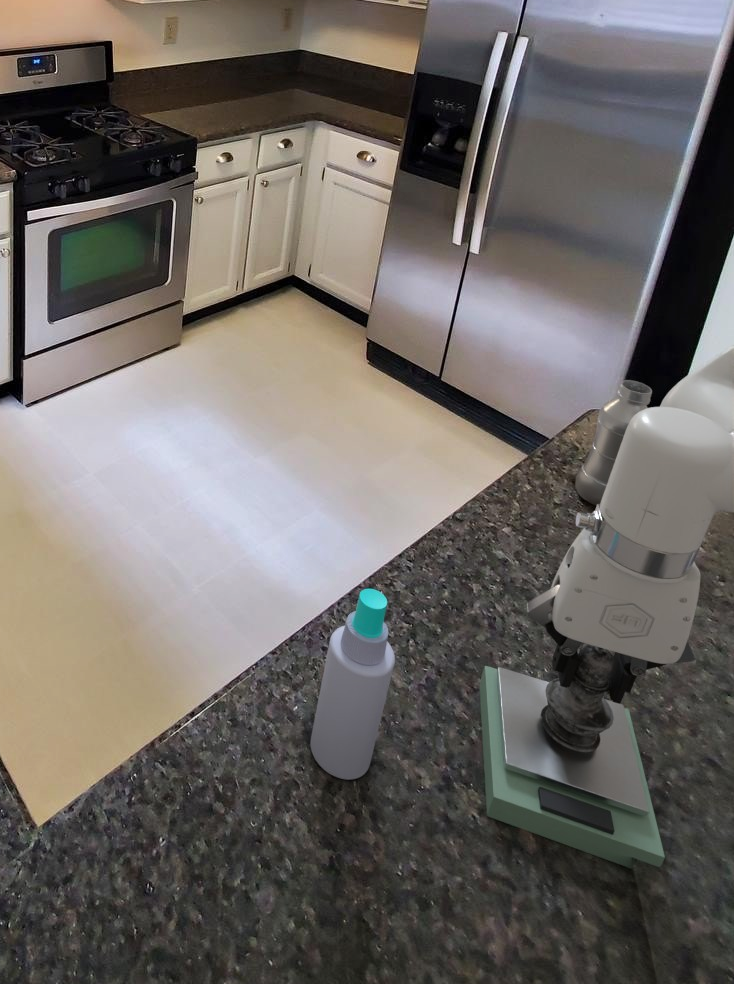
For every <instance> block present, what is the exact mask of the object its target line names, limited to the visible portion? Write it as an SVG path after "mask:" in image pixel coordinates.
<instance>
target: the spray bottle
mask: <svg viewBox="0 0 734 984" xmlns="http://www.w3.org/2000/svg"><path fill="white" fill-rule="evenodd" d="M387 607H388V599H387V597H386V596H385V595H384V594H383V593H382V592H381V591H379V590H377V589H374V588H364V589H362V590H361V591H360V592H359V596H358V599H357V604H356V608H355V611H352V612H350V613H349V614H348V616H347V618H346V621H345V623H344V625H341V626H339V627H338V628H336V629H335V630H334V631H333V632H332V634H331V636H330V638H329V642H328V648H327V653H326V658H325V664H324V669H323V674H322V678H321V679H322V680H321V685H320V688H319V695H318V700H317V705H316V710H315V714H314V715H315V716H314V720H313V726H312V731H311V735H310V750H311V751H310V752H311V753H312V756H313V758H314V760H315V761H316V763H317V765H318V766H319V767H321V768H322V769H323V770H324V771H325V772H326V773H327V774H329V775H331V776H333V777H335V778H337V779H342V780H346V781H347V780H356V779H359V778H361V777H363V776H364V775H365V774H366V773H367V772H368V770H369V768H370V765H371V761H372V758H373V754H374V749H375V745H376V741H377V738H378V733H379V730H380V725H381V722H382V717H383V713H384V708H385V704H386V700H387V697H388V692H389V688H390V684H391V680H392V676H393V672H394V668H395V664H396V656H395V651H394V648H393V647H392V646H391V644H390V643H389V641H388V638H389V627H388V625H387V624H386V622H385V617H386V612H387Z"/></svg>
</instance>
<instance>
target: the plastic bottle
mask: <svg viewBox="0 0 734 984" xmlns="http://www.w3.org/2000/svg"><path fill="white" fill-rule="evenodd" d="M652 394H653V390H652V388H651V387H650V386H648V385H646V384H645V383H643V382H639V381H636V380H632V379H625V380H622V381H621V382H620V385H619V388H618V389H617V392H616V395H617V396H616V397H614V398H612V399H610V400H609V401H607V402H605V403H604V404H603V405H602V406H601V408H600V409H599V411H598V416H597V423H596V428H595V429H596V430H595V434H594V438H593V442H592V445H591V449H590V451H589V453H588V455H587V456H586V459H585V460H584V463H583V464H582V466H581V467H580V468H579V470H578V472H577V473H576V475H575V485H574V487H575V489H576V492H577V494H578V495H579V496H580V497H581V498H582V499H583V500H585V502H587V503H590V504H592V505H594V506H597V504H600V503H601V500H602V497H603V494H604V491H605V489H606V486H607V483H608V480H609V477H610V474H611V472H612V469H613V466H614V463H615V460H616V457H617V454H618V452H619V449H620V446H621V443H622V440H623V437H624V434H625V431H626V429H627V426H628V424H629V422H630V420H631V419H632V418H633V416H634V415H635V414H637V413H638V412H640V411H642V410H644V409H646V408H648V405H649V404H650V402H651V397H652Z"/></svg>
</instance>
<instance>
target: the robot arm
mask: <svg viewBox="0 0 734 984" xmlns="http://www.w3.org/2000/svg"><path fill="white" fill-rule="evenodd" d="M595 506H596V507H595V510H593V511H592V512H591V513H590V512H587V513H584V512H581V511H580V512H579V511H578V512H577V513H576V516H575V526H576V527H577V528H580V529H582V530H581V531H580V532H579V534H578V535H577V536H576V537H575V539H574V541H572V543H571V545H570V547H569V548H568V550H567V552H566V554H565V555H564V557H563V559H562V560H561V563H560V565H559V567H558V569H557V570H556V574H555V576H554V579H553V581H552V583H551V586H550V588H549V589H547V590H546V591H544V592H542V593H541V594H539V595H537V596H536V597H534V598H532V599H531V600H529V601H528V602H526V605H525V607H526V614H527V616H528V617H529V618H530V619H531V620H533V621H534V622H535V623H536V624H538V626H540V627H543V628H544V629H545V630H546V632H547V634H548V636H549V637H551V638H552V640H553V641H554V642H555V643H556V646H555V650H554V652H553V655H552V658H551V659H552V660H551V666H552V671H554V672H557V674H558V678H559V681H560V686H562V687H565V688H567V687H570V685H571V682H572V679H573V677H574V674H575V671H576V669H577V666H578V663H579V658H578V653H579V651H578V650H579V649H580V648H581V646H582V645H583V644H590V645H593V646H597V647H600V648H604V649H607V650H609V651H610V652H614V654H613V657H614V660H615V664H614V667H613V670H612V672H611V675H610V677H609V679H610V682H611V689H610V690H609V691H608V695H609V698H610V701H613V702H615V703H618V704H622V701H623V699H624V696H625V694H626V693H628V694H630V693H631V691H632V689H633V686H634V685H635V682H636V679H637V678H638V677H643V676H644V675H646V673H647V670H651V669H655V668H660V667H663V666H667V665H671V664H677V663H679V664H680V663H690V662H691V663H692V662H695V660H696V655H695V653H694V650H693V648H692V645H691V642H690V640H689V638H690V634H691V630H692V628H693V627H692V626H693V623H694V619H695V615H696V611H697V605H698V602H699V596H700V589H701V576H702V575H701V571H700V569H699V568H698V566H697V564H696V562H695V560H696V557H697V555H698V553H699V550H700V548H701V546H702V543H703V542H704V539H705V536H706V534H707V532H708V529H709V527H710V525H711V523H712V520H713V518H714V516H715V514H716V513H719V512H727V513H731V514H732V513H733V514H734V344H732V345H731V346H729V347H728V348H725V349H724V350H723V351H721V352H720V353H718V354H716V355H715V356H714V357H712V358H710V359H709V360H708V361H706V362H705V363H703V364H701V365H700V366H698V367H697V368H695V370H692V372H690V373H688V375H686V376H685V377H683V378H682V379H681V380H680V381H678V382H677V383H676V384H675V385H674V386H673V387H672V388H671V389H670V390H669V391H668V392H667V393H666V395H665V396H664V398H663V399H662V400H661V403H660V405H659V406H653V407H652V406H651V407H647V408H646V409H644V410H642V411H640V412H638V413H637V414H635V415H634V416H633V418H632V419H631V420H630V422H629V424H628V426H627V429H626V431H625V434H624V437H623V440H622V443H621V446H620V449H619V452H618V454H617V457H616V460H615V463H614V466H613V469H612V472H611V474H610V477H609V480H608V483H607V486H606V489H605V491H604V494H603V497H602V500H601V503H600V504H597V505H595Z"/></svg>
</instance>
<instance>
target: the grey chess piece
mask: <svg viewBox="0 0 734 984" xmlns="http://www.w3.org/2000/svg"><path fill="white" fill-rule="evenodd" d="M613 656H614V654H613V653H612V651H611V650H607V649H604V648H600V647H597V646H593V645H590V644H586V643H583V644H582V645H581V646H580V647H579V651H578V658H579V663H578V666H577V669H576V671H575V674H574V677H573V679H572V682H571V685H570V687H567V688H565V687H562V686H560V681H559V677H558V678H557V677H556V678H554V679H552V680H550V681H548V682H549V683H548V684H547V687H546V698H547V702H548V705H547V706H545V707H544V708H543V709H542V712H541V715H540V716H541V722H542V724H543V727H544V728H545V730H546V731H547V732H548V734H549V735H550V736H551V737H552V738H553V739H554V740H556V741H557V742H558V743H560V744H561V745H563V746H565V747H567V748H569V749H571V750H574V751H577V752H592V751H594V750H596V749H597V748H598V746H599V745H600V740H601V739H600V734H599V733H601V732H603V731H604V730H606V729H609V728H610V726H611V725H612V724H613V719H614V717H613V712H612V709H611V707H610V706H609V704H608V703H607V701H606V700H607V699H606V698H604V695H605V694H606V693H609V690H610V689H611V682H610V679H609V677H610V675H611V672H612V670H613V667H614V664H615V660H614V657H613ZM605 699H606V700H605Z"/></svg>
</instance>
